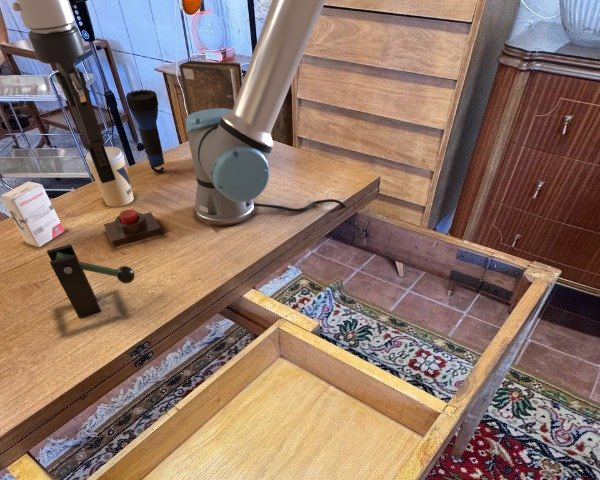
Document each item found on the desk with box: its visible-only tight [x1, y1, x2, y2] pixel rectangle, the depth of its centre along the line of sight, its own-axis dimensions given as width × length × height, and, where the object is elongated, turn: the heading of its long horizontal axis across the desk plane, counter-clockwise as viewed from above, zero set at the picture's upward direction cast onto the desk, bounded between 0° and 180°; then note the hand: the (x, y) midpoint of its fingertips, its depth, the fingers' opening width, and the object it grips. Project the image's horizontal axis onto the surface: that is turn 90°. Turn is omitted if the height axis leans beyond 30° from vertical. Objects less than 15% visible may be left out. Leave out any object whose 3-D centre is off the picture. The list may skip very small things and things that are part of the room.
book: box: [178, 60, 243, 117], centre depth 126 cm, size 17×7×25 cm, turn 65°
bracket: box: [46, 243, 102, 319], centre depth 85 cm, size 12×9×14 cm
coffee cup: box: [85, 146, 134, 207], centre depth 117 cm, size 9×9×12 cm
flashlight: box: [125, 89, 165, 174], centre depth 124 cm, size 8×8×20 cm
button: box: [118, 209, 138, 224], centre depth 106 cm, size 4×4×2 cm
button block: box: [103, 211, 163, 248], centre depth 108 cm, size 12×9×4 cm
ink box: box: [0, 181, 65, 248], centre depth 105 cm, size 9×5×12 cm, turn 152°
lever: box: [56, 252, 136, 285], centre depth 85 cm, size 14×3×3 cm
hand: (108, 180), depth 87 cm, fingers closed
